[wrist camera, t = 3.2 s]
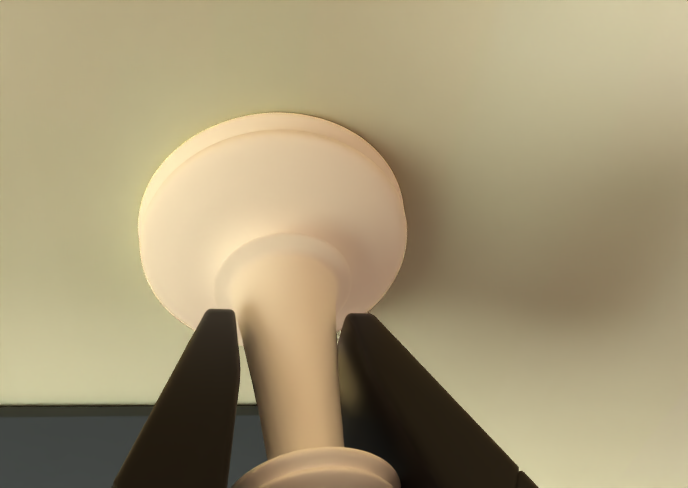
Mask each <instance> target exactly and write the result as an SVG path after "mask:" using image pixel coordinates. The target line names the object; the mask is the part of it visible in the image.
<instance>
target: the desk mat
mask: <svg viewBox="0 0 688 488" xmlns="http://www.w3.org/2000/svg"><path fill="white" fill-rule="evenodd" d="M153 408H154V406H118V407H0V488H111V487H113V482H114V480H115V478H116V476H117V474H118V472H119V471H120V469H121V467H122V465H123V463H124V461H125V459H126V458H127V456H128V454H129V452H130V450H131V448H132V447H133V445H134V443H135V441H136V439H137V437H138V435H139V434H140V432H141V430H142V428H143V426H144V424H145V422H146V421H147V419H148V417H149V415H150V413H151V411H152V410H153ZM266 461H268V460H267V455H266V450H265V445H264V439H263V434H262V428H261V422H260V416H259V411H258V406H237V409H236V418H235V426H234V434H233V443H232V451H231V459H230V468H229V476H228V484H227V488H231V487H232V486H233V485H234V483H235V482H236V481H237V480H238V479H240V478H241V477H242V476H243V475H244V474H246V473H247V472H248V471H250V470H251V469H253V468H254V467H256V466H258V465H260V464H262V463H264V462H266Z"/></svg>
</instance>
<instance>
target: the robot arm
mask: <svg viewBox="0 0 688 488" xmlns="http://www.w3.org/2000/svg"><path fill="white" fill-rule="evenodd" d="M337 351H338V371H339V387H340V404H341V413H342V424H343V437H344V447H346V448H353V449H358V450H363V451H366V452H369V453H372V454H374V455H376V456H378V457H380V458H382V459H383V460H385V461H386V462H388V463H389V464H390V465H391V466H392V467H393V468H394V470H395V471H396V473H397V474H398V476H399V479H400V483H401V488H538V486H537V485H536V484H535V483H534V482H533V481H532V480H531V479H530V478H529V477H528V476H527V475H526V474H525V473H524V472H523V471H519V467H518V466H517V465H516V464H515V463H514V462H513V461H512V459H511V458H510V457H509V456H508V455H507V454H506V453H505V452H504V451H503V450H502V449H501V448H500V447H499V446H498V445H497V444H496V443H495V442H494V441H493V440H492V438H491V437H490V436H489V435H488V434H487V433H486V432H485V431H484V430H483V429H482V428H481V427H480V426H479V425H478V424H477V423H476V422H475V421H474V420H473V419H472V417H471V416H470V415H469V414H468V413H467V412H466V411H465V410H464V409H463V408H462V407H461V406H460V405H459V404H458V403H457V402H456V401H455V400H454V399H453V398H452V397H451V395H450V394H449V393H448V392H447V391H446V390H445V389H444V388H443V387H442V386H441V385H440V384H439V383H438V382H437V381H436V380H435V379H434V378H433V377H432V376H431V374H430V373H429V372H428V371H427V370H426V369H425V368H424V367H423V366H422V365H421V364H420V363H419V362H418V361H417V360H416V359H415V358H414V357H413V356H412V355H411V353H410V352H409V351H408V350H407V349H406V348H405V347H404V346H403V345H402V344H401V343H400V342H399V341H398V340H397V339H396V338H395V337H394V336H393V335H392V334H391V332H390V331H389V330H388V329H387V328H386V327H385V326H384V325H383V324H382V323H381V322H380V321H379V320H378V319H377V318H376V317H375V316H374V315H372V314H368V313H350V314H348V315H347V316H346V317H345V319H344V323H343V326H342V330H341V334H340V337H339V341H338V345H337ZM239 384H240V356H239V346H238V336H237V326H236V316H235V312H234V311H233V310H232V309H208V310H207V311H206V312H205V313H204V315H203V317H202V319H201V321H200V323H199V324H198V326H197V328H196V330H195V332H194V334H193V336H192V337H191V339H190V341H189V343H188V345H187V347H186V348H185V350H184V352H183V354H182V356H181V358H180V360H179V361H178V363H177V365H176V367H175V369H174V371H173V373H172V374H171V376H170V378H169V380H168V382H167V384H166V385H165V387H164V389H163V391H162V393H161V395H160V397H159V398H158V400H157V402H156V404H155V406H154V408H153V410H152V411H151V413H150V415H149V417H148V419H147V421H146V422H145V424H144V426H143V428H142V430H141V432H140V434H139V435H138V437H137V439H136V441H135V443H134V445H133V447H132V448H131V450H130V452H129V454H128V456H127V458H126V459H125V461H124V463H123V465H122V467H121V469H120V471H119V472H118V474H117V476H116V478H115V480H114V482H113V487H111V488H227V484H228V476H229V468H230V459H231V451H232V443H233V434H234V426H235V418H236V409H237V401H238V392H239ZM518 471H519V472H518Z"/></svg>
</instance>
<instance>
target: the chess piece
mask: <svg viewBox="0 0 688 488" xmlns="http://www.w3.org/2000/svg"><path fill="white" fill-rule="evenodd" d="M138 237H139V243H140V256H141V262H142V267H143V271H144V274H145V276H146V279H147V281H148V283H149V286H150V287H151V289H152V291H153V293H154V294H155V296H156V297H157V299H158V300H159V301H160V302H161V304H162V305H163V306H164V307H165V308H166V309H167V310H168V311H169V312H170V313H171V314H172V315H173V316H174V317H175V318H177V319H178V320H179V321H180V322H182V323H183V324H185V325H186V326H188V327H189V328H191V329H193V330H196V328H197V326H198V324H199V323H200V321H201V319H202V317H203V315H204V313H205V312H206V311H207V310H208V309H232V310H233V311H234V312H235V316H236V326H237V336H238V346H244V350H245V354H246V358H247V363H248V367H249V371H250V375H251V380H252V384H253V389H254V393H255V398H256V402H257V406H258V411H259V416H260V422H261V428H262V434H263V439H264V445H265V450H266V455H267V460H268V461H266V462H264V463H262V464H260V465H258V466H256V467H254V468H253V469H251V470H250V471H248V472H247V473H246V474H244V475H243V476H242V477H241V478H240V479H238V480H237V481H236V482H235V483H234V485H233V486H232V487H231V488H401V483H400V479H399V476H398V474H397V473H396V471H395V470H394V468H393V467H392V466H391V465H390V464H389V463H388V462H386V461H385V460H383V459H382V458H380V457H378V456H376V455H374V454H372V453H369V452H366V451H363V450H358V449H353V448H346V447H344V437H343V424H342V413H341V404H340V387H339V371H338V351H337V332H338V331H340V330H342V326H343V323H344V319H345V317H346V316H347V315H348V314H350V313H367V312H368V311H369V310H371V309H372V308H373V307H374V306H375V305H376V304H377V303H378V302H379V301H380V299H381V298H382V297H383V296H384V295H385V293H386V292H387V291H388V289H389V288H390V286H391V285H392V283H393V282H394V280H395V278H396V276H397V274H398V272H399V270H400V267H401V265H402V262H403V259H404V255H405V251H406V244H407V222H406V216H405V212H404V205H403V199H402V194H401V191H400V188H399V185H398V182H397V180H396V178H395V176H394V174H393V172H392V170H391V168H390V167H389V165H388V164H387V162H386V161H385V160H384V159H383V157H382V156H381V155H380V154H379V153H378V152H377V151H376V150H375V149H374V148H373V147H372V146H371V145H370V144H369V143H368V142H366V141H365V140H364V139H362V138H361V137H360V136H358V135H357V134H355V133H353V132H352V131H350V130H348V129H346V128H344V127H342V126H340V125H338V124H335V123H333V122H330V121H327V120H324V119H321V118H317V117H313V116H309V115H303V114H296V113H282V112H274V113H259V114H252V115H246V116H242V117H237V118H234V119H230V120H227V121H224V122H221V123H219V124H216V125H214V126H212V127H209V128H207V129H205V130H203V131H201V132H200V133H198V134H196V135H195V136H193V137H191V138H190V139H188V140H187V141H186V142H184V143H183V144H182V145H180V146H179V147H178V148H177V149H176V150H174V151H173V152H172V153H171V154H170V155H169V156H168V157H167V158H166V159H165V161H164V162H163V163H162V164H161V165H160V167H159V168H158V169H157V171H156V172H155V174H154V175H153V177H152V178H151V180H150V182H149V184H148V186H147V188H146V190H145V193H144V196H143V198H142V202H141V206H140V210H139V217H138Z"/></svg>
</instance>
